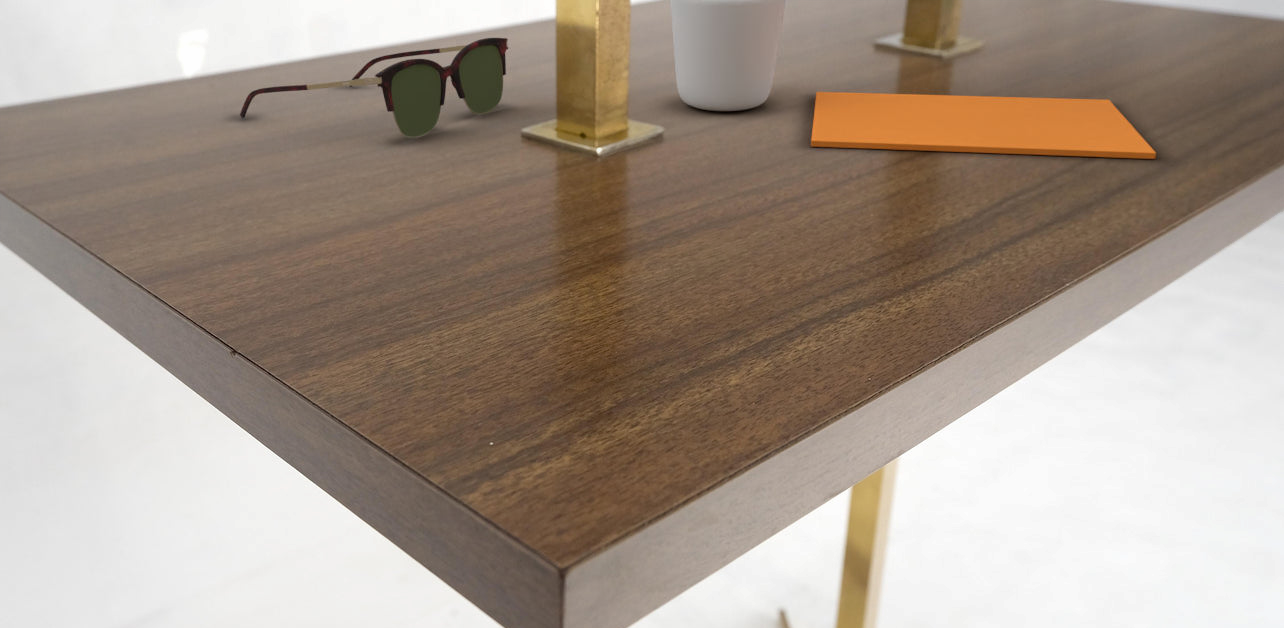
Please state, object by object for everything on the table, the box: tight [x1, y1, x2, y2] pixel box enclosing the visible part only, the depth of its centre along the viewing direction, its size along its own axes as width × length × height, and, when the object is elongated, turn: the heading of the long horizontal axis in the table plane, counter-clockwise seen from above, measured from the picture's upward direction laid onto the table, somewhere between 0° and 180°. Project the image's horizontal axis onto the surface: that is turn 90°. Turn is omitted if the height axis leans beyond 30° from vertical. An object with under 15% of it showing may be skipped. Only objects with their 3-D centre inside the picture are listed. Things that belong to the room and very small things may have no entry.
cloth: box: [810, 91, 1157, 160], centre depth 77 cm, size 20×14×1 cm
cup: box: [669, 0, 787, 112], centre depth 83 cm, size 11×8×8 cm
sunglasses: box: [239, 37, 509, 138], centre depth 83 cm, size 14×15×5 cm
